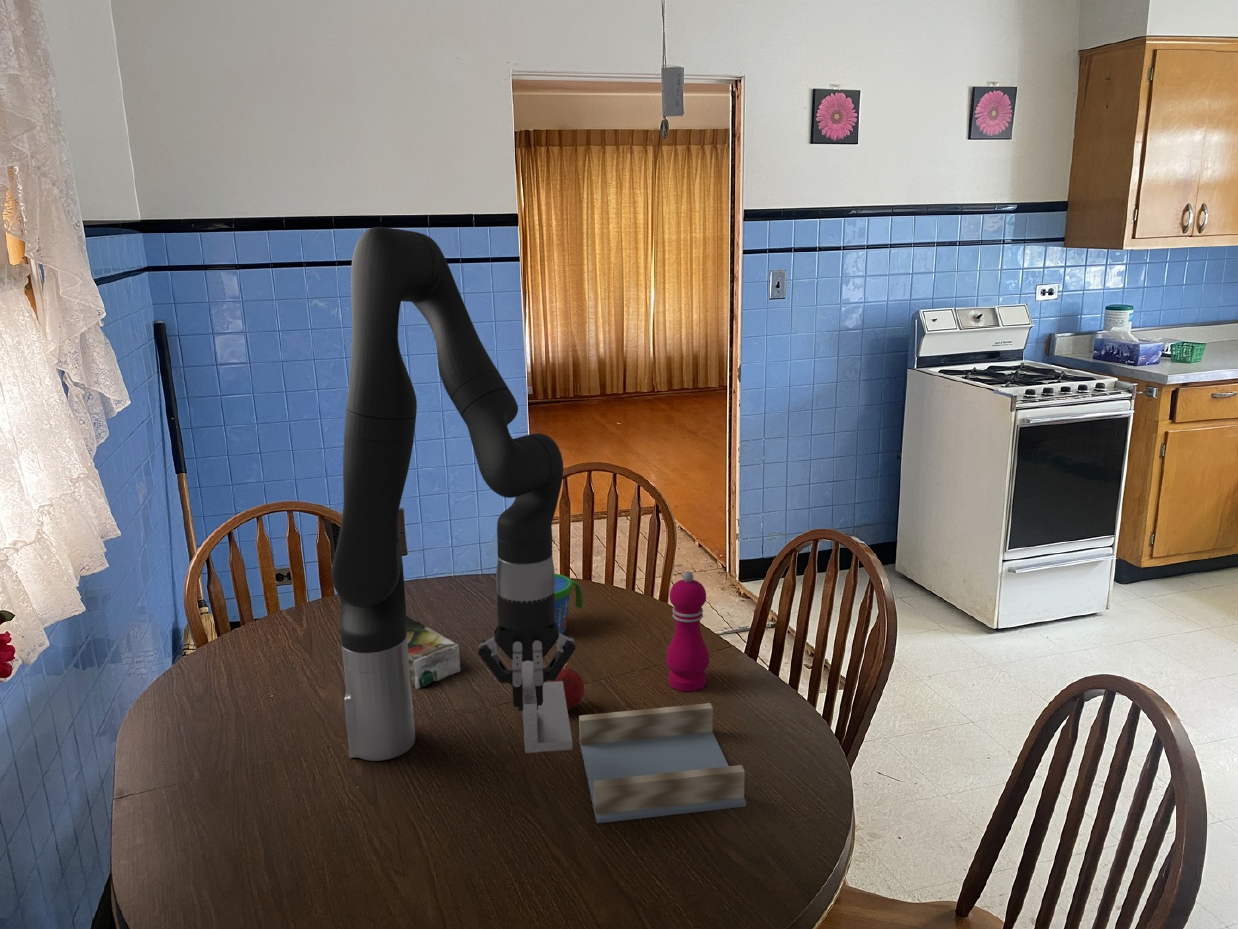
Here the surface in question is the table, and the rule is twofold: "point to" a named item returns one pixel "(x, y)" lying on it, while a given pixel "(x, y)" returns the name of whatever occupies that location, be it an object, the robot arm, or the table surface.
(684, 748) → the board
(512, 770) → the table surface
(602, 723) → the walls
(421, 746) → the table surface
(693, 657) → the pepper mill
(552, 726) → the bracket
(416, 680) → the juice carton
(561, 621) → the snack cup
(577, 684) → the onion
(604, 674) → the table surface
